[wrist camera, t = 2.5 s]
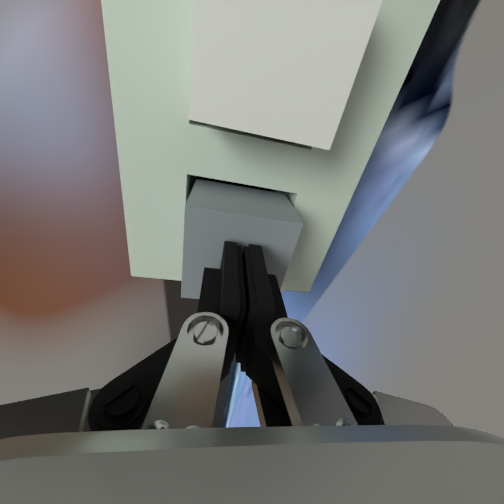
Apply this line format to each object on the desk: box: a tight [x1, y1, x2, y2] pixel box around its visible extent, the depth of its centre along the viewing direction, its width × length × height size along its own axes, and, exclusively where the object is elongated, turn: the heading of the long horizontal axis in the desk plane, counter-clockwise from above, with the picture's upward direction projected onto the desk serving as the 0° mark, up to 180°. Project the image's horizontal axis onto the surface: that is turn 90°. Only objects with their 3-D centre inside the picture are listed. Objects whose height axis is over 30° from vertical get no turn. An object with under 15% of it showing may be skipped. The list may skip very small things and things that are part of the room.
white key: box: [189, 0, 383, 150], centre depth 8 cm, size 5×5×4 cm
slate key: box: [181, 179, 303, 299], centre depth 12 cm, size 5×5×4 cm
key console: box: [101, 0, 440, 293], centre depth 11 cm, size 24×12×4 cm, turn 169°
